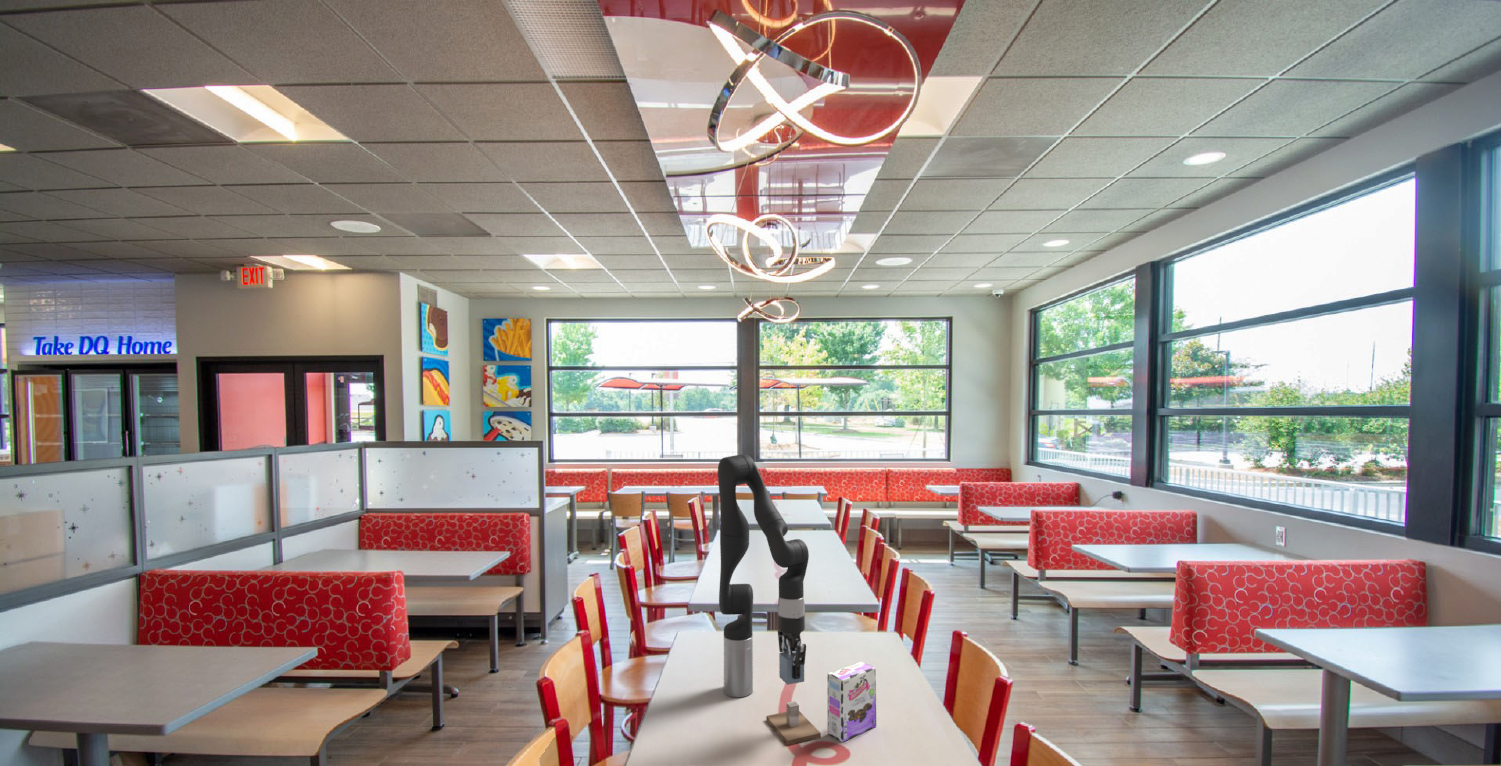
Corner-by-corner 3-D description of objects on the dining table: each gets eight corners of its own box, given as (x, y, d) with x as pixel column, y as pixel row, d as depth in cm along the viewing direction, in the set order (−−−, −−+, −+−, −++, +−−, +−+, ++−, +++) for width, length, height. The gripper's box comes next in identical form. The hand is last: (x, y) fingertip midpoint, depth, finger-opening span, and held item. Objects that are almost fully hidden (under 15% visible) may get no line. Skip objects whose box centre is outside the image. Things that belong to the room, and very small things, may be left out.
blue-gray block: (779, 677, 168) (779, 653, 168) (796, 674, 169) (795, 650, 170) (787, 684, 163) (787, 659, 163) (804, 681, 165) (804, 657, 165)
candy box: (842, 743, 158) (841, 679, 159) (826, 733, 163) (826, 672, 164) (877, 726, 166) (876, 666, 167) (861, 718, 171) (861, 659, 172)
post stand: (766, 720, 170) (766, 696, 170) (797, 713, 174) (797, 689, 174) (787, 745, 157) (787, 719, 158) (820, 737, 161) (820, 712, 161)
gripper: (768, 606, 172) (769, 666, 171) (790, 622, 159) (790, 687, 158) (792, 603, 175) (792, 662, 174) (815, 618, 162) (815, 682, 161)
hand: (791, 674), depth 166 cm, fingers closed on blue-gray block, 5 cm apart
